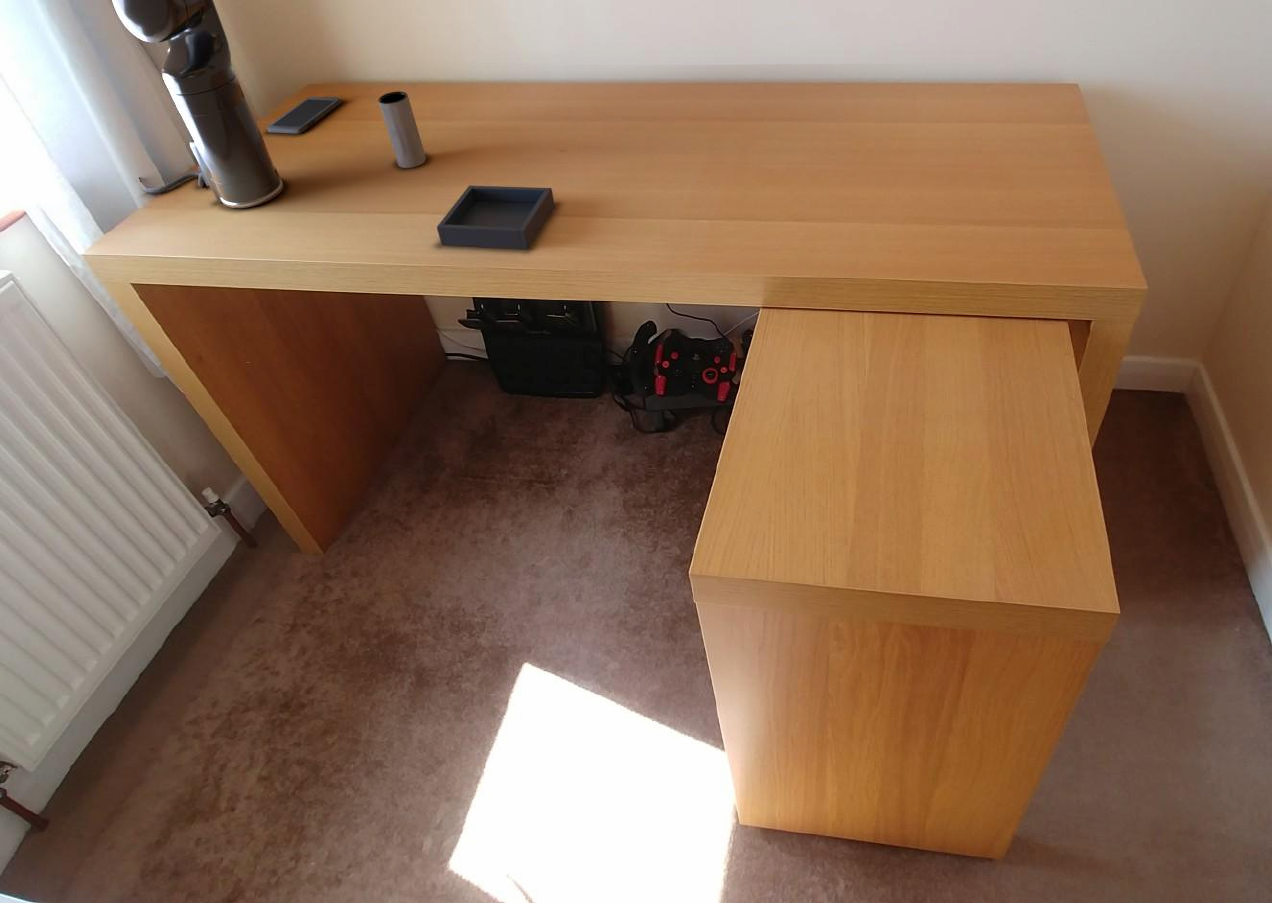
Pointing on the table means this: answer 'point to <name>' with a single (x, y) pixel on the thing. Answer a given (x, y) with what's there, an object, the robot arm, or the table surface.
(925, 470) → the table surface
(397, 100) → the grey hollow cylinder
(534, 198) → the tray
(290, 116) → the cell phone
